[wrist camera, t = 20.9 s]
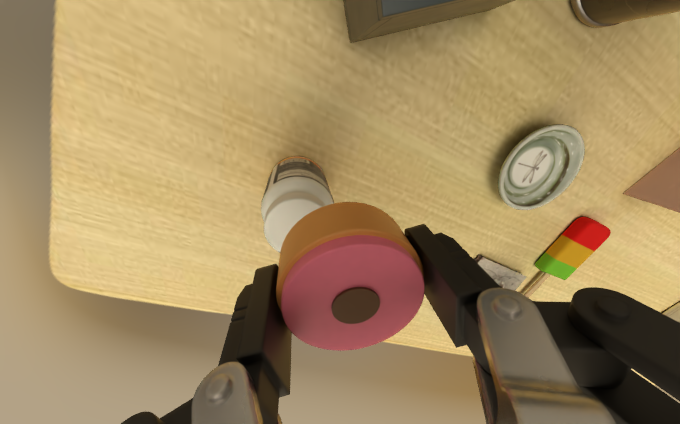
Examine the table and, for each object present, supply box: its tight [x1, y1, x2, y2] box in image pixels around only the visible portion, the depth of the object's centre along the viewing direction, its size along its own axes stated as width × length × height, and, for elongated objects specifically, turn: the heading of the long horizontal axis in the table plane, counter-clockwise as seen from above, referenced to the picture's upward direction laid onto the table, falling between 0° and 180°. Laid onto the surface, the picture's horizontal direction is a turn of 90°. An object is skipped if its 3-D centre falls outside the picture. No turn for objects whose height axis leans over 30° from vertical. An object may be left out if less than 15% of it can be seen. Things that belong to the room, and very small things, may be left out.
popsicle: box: [524, 217, 611, 298], centre depth 37 cm, size 6×15×2 cm, turn 154°
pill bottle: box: [261, 156, 334, 252], centre depth 21 cm, size 6×6×10 cm
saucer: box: [498, 124, 585, 210], centre depth 28 cm, size 10×10×2 cm
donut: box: [276, 202, 425, 350], centre depth 9 cm, size 5×5×3 cm
